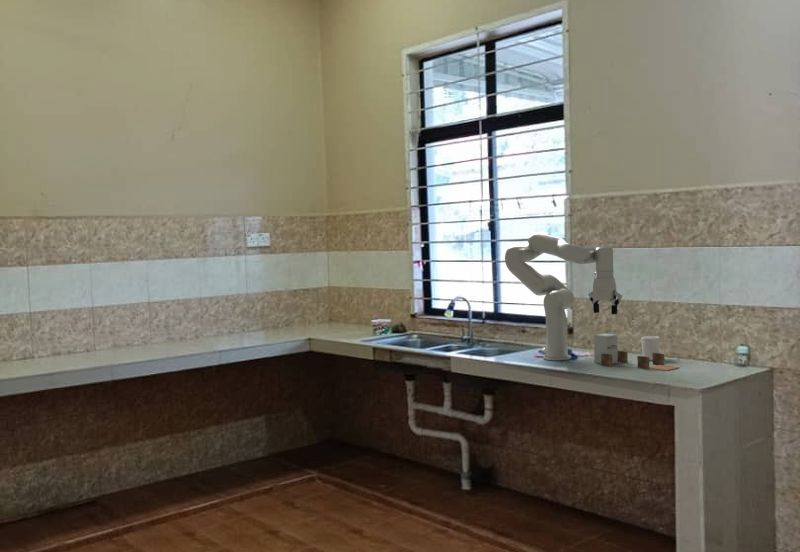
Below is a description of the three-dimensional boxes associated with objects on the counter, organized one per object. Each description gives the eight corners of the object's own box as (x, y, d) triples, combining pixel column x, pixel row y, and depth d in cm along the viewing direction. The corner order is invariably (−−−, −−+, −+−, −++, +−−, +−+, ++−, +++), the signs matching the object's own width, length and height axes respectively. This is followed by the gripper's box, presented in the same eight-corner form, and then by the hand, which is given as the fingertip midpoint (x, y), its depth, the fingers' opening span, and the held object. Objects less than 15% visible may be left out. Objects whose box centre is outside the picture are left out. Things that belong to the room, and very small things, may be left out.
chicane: (601, 365, 331) (601, 353, 331) (625, 359, 342) (625, 348, 341) (640, 370, 316) (640, 358, 315) (664, 365, 326) (664, 353, 325)
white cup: (662, 360, 337) (661, 338, 337) (644, 360, 338) (643, 338, 337) (657, 357, 345) (656, 335, 345) (639, 357, 346) (639, 336, 345)
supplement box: (606, 364, 332) (606, 336, 331) (593, 362, 338) (593, 334, 337) (618, 362, 336) (617, 334, 335) (605, 360, 342) (604, 332, 341)
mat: (647, 368, 320) (647, 367, 320) (660, 365, 326) (660, 364, 326) (666, 371, 313) (666, 370, 313) (679, 368, 319) (679, 367, 318)
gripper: (583, 274, 339) (584, 312, 340) (615, 275, 325) (616, 315, 326) (594, 273, 343) (594, 311, 344) (626, 274, 330) (627, 313, 331)
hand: (605, 313), depth 335 cm, fingers open, 9 cm apart
